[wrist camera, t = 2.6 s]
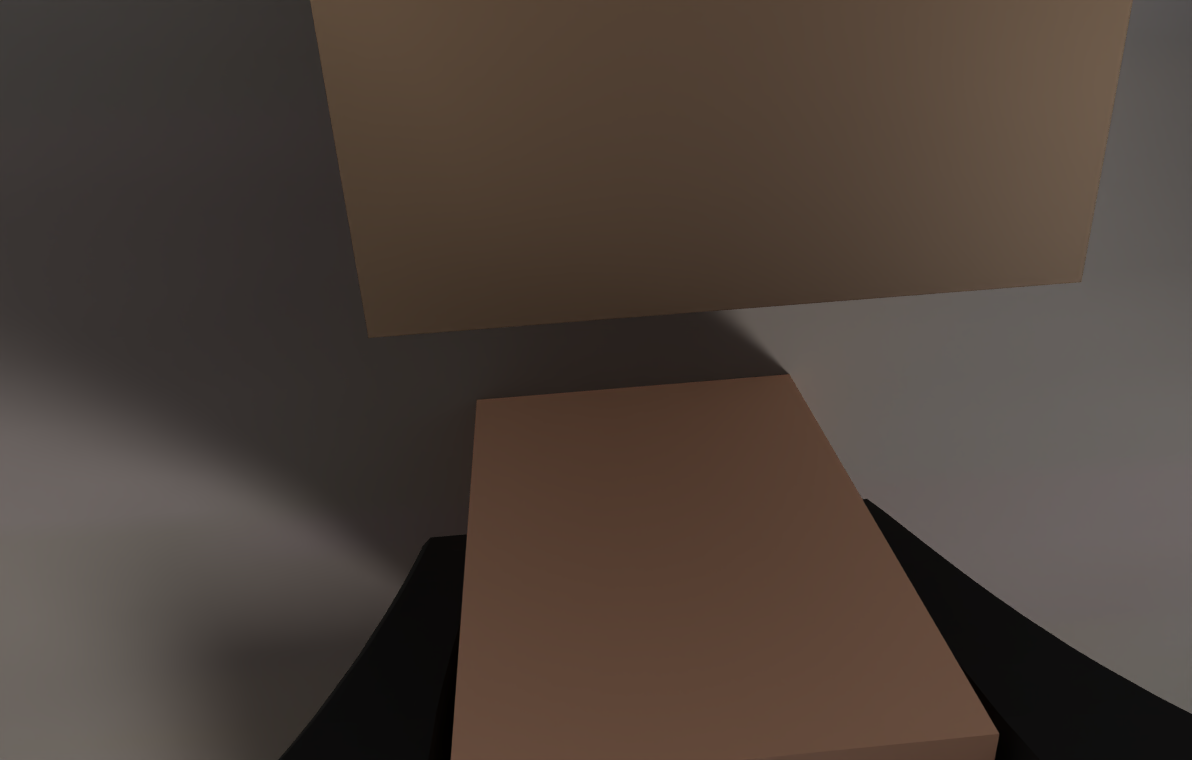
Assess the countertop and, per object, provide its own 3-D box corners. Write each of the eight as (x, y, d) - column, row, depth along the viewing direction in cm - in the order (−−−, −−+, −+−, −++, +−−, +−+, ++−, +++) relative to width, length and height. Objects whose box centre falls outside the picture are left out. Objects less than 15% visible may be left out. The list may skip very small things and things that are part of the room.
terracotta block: (789, 373, 12) (1000, 733, 7) (779, 617, 14) (940, 1053, 9) (476, 398, 12) (449, 790, 7) (506, 643, 14) (503, 1103, 9)
